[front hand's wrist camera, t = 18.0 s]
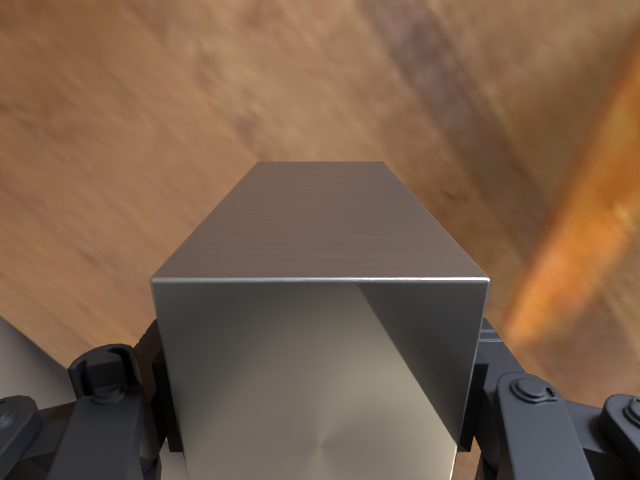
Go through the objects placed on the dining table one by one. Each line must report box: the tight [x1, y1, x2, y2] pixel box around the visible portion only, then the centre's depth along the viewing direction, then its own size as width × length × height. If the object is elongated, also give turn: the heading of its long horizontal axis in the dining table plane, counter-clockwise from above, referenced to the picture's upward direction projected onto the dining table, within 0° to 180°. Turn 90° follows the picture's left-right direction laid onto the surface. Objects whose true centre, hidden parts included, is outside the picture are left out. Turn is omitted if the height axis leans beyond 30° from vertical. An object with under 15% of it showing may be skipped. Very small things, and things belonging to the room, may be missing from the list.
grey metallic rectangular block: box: [150, 162, 490, 480], centre depth 13 cm, size 6×8×12 cm
